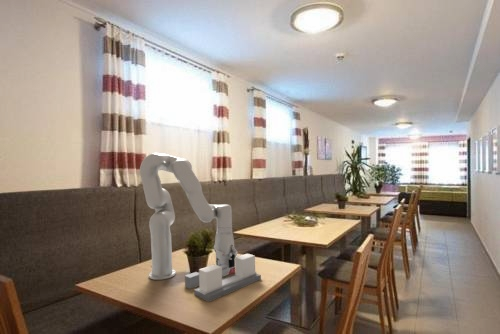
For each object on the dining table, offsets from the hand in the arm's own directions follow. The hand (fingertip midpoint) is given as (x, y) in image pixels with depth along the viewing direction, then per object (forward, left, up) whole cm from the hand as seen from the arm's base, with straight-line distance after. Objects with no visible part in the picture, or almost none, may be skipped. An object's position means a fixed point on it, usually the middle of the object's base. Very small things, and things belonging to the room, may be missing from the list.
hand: (225, 264), depth 147 cm
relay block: (0, -19, -4) cm, 20 cm away
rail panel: (+13, -9, -4) cm, 16 cm away
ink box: (0, 0, -5) cm, 5 cm away
